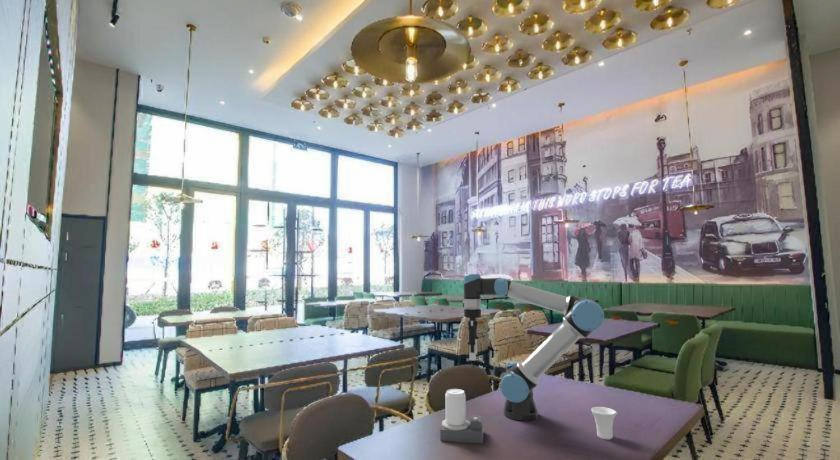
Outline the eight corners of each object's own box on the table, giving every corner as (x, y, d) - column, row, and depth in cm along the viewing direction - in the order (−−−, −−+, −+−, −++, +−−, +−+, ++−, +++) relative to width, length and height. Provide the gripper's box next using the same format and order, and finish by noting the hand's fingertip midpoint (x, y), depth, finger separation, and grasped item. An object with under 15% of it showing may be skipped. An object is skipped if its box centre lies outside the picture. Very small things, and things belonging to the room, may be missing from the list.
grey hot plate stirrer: (483, 431, 158) (482, 411, 159) (482, 443, 147) (482, 421, 148) (443, 429, 161) (443, 409, 162) (440, 440, 150) (440, 419, 151)
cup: (617, 443, 147) (615, 415, 148) (590, 438, 152) (589, 411, 153) (619, 435, 154) (618, 408, 155) (594, 430, 159) (592, 404, 160)
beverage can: (465, 427, 150) (464, 394, 152) (444, 426, 152) (443, 393, 153) (466, 419, 158) (466, 388, 160) (447, 418, 160) (446, 387, 161)
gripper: (466, 306, 189) (466, 351, 187) (461, 310, 165) (462, 362, 162) (481, 306, 188) (482, 351, 185) (479, 311, 163) (481, 363, 161)
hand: (473, 357), depth 174 cm, fingers open, 13 cm apart
